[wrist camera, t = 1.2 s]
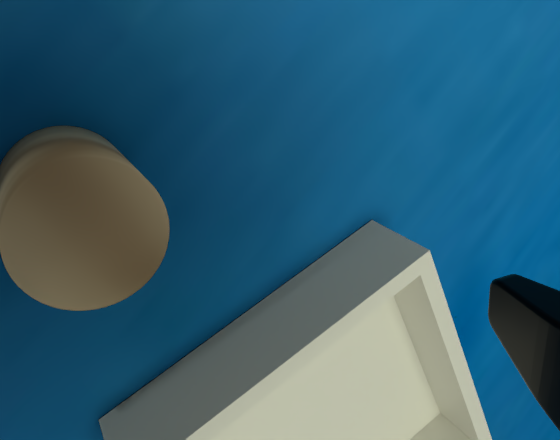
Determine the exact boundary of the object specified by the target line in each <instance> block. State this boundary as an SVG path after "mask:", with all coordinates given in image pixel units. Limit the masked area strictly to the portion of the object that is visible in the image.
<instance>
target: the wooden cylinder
mask: <svg viewBox="0 0 560 440" xmlns="http://www.w3.org/2000/svg"><path fill="white" fill-rule="evenodd" d="M168 240H169V219H168V214H167V210H166V207H165V205H164V202H163V200H162V198H161V196H160V195H159V193H158V192H157V190H156V189H155V188H154V186H153V185H152V184H151V183H150V182H149V181H148V180H147V179H146V178H145V177H144V176H143V175H142V174H141V173H140V172H139V171H138V170H137V169H136V168H135V167H134V166H133V165H132V164H131V163H130V162H129V161H128V160H127V159H126V158H125V157H124V156H123V155H122V154H121V153H120V152H119V151H118V150H117V149H116V148H115V147H114V146H113V145H112V144H111V143H110V142H109V141H108V140H106V139H105V138H104V137H102V136H100V135H99V134H97V133H95V132H92V131H90V130H87V129H84V128H81V127H75V126H52V127H47V128H43V129H40V130H37V131H35V132H33V133H31V134H29V135H27V136H25V137H24V138H22V139H21V140H19V141H18V142H17V143H16V144H15V145H14V146H13V147H12V148H11V149H10V150H9V151H8V152H7V154H6V155H5V157H4V159H3V160H2V162H1V165H0V252H1V257H2V260H3V263H4V266H5V268H6V270H7V272H8V273H9V275H10V277H11V278H12V279H13V281H14V282H15V283H16V285H17V286H18V287H19V288H21V289H22V290H23V291H24V292H25V293H26V294H28V295H29V296H30V297H32V298H33V299H35V300H37V301H39V302H41V303H43V304H46V305H48V306H51V307H55V308H59V309H64V310H72V311H85V310H94V309H99V308H103V307H107V306H110V305H113V304H115V303H117V302H120V301H122V300H124V299H126V298H127V297H129V296H131V295H132V294H134V293H135V292H136V291H138V290H139V289H140V288H141V287H142V286H144V285H145V284H146V283H147V282H148V281H149V279H150V278H151V277H152V276H153V275H154V273H155V272H156V270H157V269H158V267H159V266H160V264H161V262H162V260H163V258H164V255H165V252H166V249H167V245H168Z"/></svg>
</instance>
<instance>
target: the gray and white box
mask: <svg viewBox="0 0 560 440" xmlns="http://www.w3.org/2000/svg"><path fill="white" fill-rule="evenodd" d="M99 424H100V427H101V431H102V434H103V438H104V440H492V438H491V435H490V432H489V429H488V426H487V423H486V420H485V417H484V414H483V411H482V408H481V405H480V402H479V399H478V396H477V393H476V390H475V387H474V384H473V381H472V377H471V374H470V371H469V368H468V365H467V362H466V359H465V356H464V353H463V350H462V347H461V344H460V341H459V338H458V335H457V332H456V329H455V326H454V323H453V320H452V317H451V314H450V311H449V308H448V305H447V302H446V299H445V295H444V292H443V289H442V286H441V283H440V280H439V277H438V274H437V271H436V268H435V265H434V262H433V259H432V256H431V253H430V250H428V249H426V248H424V247H422V246H420V245H419V244H417V243H415V242H413V241H411V240H409V239H407V238H405V237H403V236H402V235H400V234H398V233H396V232H394V231H392V230H390V229H388V228H386V227H384V226H383V225H381V224H379V223H377V222H375V221H373V220H371V221H370V222H369V223H367V224H366V225H364V226H363V227H362V228H360V229H359V230H358V231H356V232H355V233H353V234H352V235H351V236H349V237H348V238H347V239H345V240H344V241H343V242H341V243H340V244H338V245H337V246H336V247H334V248H333V249H332V250H330V251H329V252H328V253H326V254H325V255H323V256H322V257H321V258H319V259H318V260H317V261H315V262H314V263H312V264H311V265H310V266H308V267H307V268H306V269H304V270H303V271H302V272H300V273H299V274H297V275H296V276H295V277H293V278H292V279H291V280H289V281H288V282H286V283H285V284H284V285H282V286H281V287H280V288H278V289H277V290H276V291H274V292H273V293H271V294H270V295H269V296H267V297H266V298H265V299H263V300H262V301H260V302H259V303H258V304H256V305H255V306H254V307H252V308H251V309H250V310H248V311H247V312H245V313H244V314H243V315H241V316H240V317H239V318H237V319H236V320H234V321H233V322H232V323H230V324H229V325H228V326H226V327H225V328H224V329H222V330H221V331H219V332H218V333H217V334H215V335H214V336H213V337H211V338H210V339H209V340H207V341H206V342H204V343H203V344H202V345H200V346H199V347H198V348H196V349H195V350H193V351H192V352H191V353H189V354H188V355H187V356H185V357H184V358H183V359H181V360H180V361H178V362H177V363H176V364H174V365H173V366H172V367H170V368H169V369H167V370H166V371H165V372H163V373H162V374H161V375H159V376H158V377H157V378H155V379H154V380H152V381H151V382H150V383H148V384H147V385H146V386H144V387H143V388H141V389H140V390H139V391H137V392H136V393H135V394H133V395H132V396H131V397H129V398H128V399H126V400H125V401H124V402H122V403H121V404H120V405H118V406H117V407H115V408H114V409H113V410H111V411H110V412H109V413H107V414H106V415H105V416H103V417H102V418H100V419H99Z"/></svg>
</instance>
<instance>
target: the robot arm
mask: <svg viewBox="0 0 560 440" xmlns="http://www.w3.org/2000/svg"><path fill="white" fill-rule="evenodd" d="M488 316H489V321H490V324H491V326H492V328H493V330H494V331H495V333H496V335H497V336H498V338H499V340H500V341H501V343H502V345H503V346H504V348H505V350H506V351H507V353H508V354H509V356H510V358H511V359H512V361H513V363H514V364H515V366H516V368H517V369H518V371H519V373H520V374H521V376H522V378H523V379H524V381H525V382H526V384H527V386H528V387H529V389H530V391H531V392H532V394H533V395H534V397H535V398H536V400H537V401H538V403H539V404H540V405H541V407H542V408H543V410H544V411H545V412H546V414H547V415H548V416H549V418H550V419H551V420H552V422H553V423H554V424H555V426H556V427H557V428H558V429H559V431H560V291H558V290H556V289H553V288H551V287H548V286H546V285H543V284H540V283H538V282H535V281H533V280H530V279H527V278H525V277H522V276H520V275H516V274H511V275H507V276H504V277H501V278H497V279H495V280H493V281H492V283H491V285H490V295H489V309H488Z"/></svg>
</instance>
